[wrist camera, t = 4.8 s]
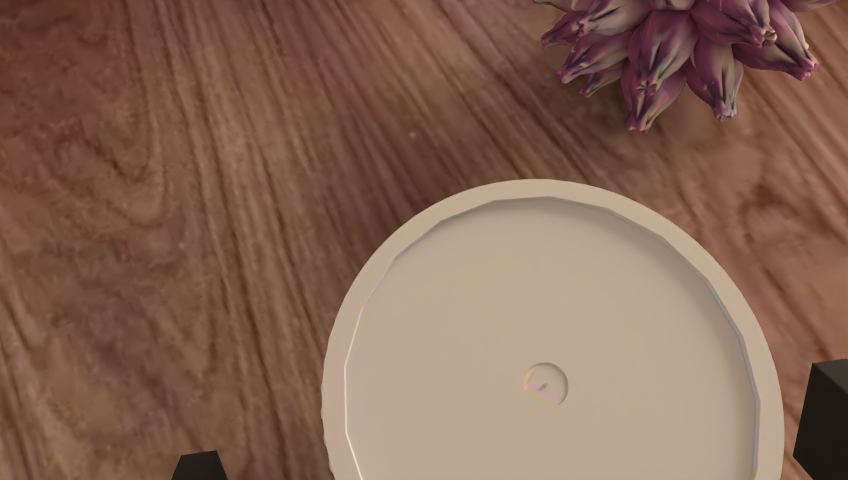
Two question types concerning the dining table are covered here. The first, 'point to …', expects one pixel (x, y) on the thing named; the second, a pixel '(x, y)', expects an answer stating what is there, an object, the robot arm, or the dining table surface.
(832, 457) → the robot arm
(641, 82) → the flower
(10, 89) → the dining table surface
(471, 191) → the bottle
